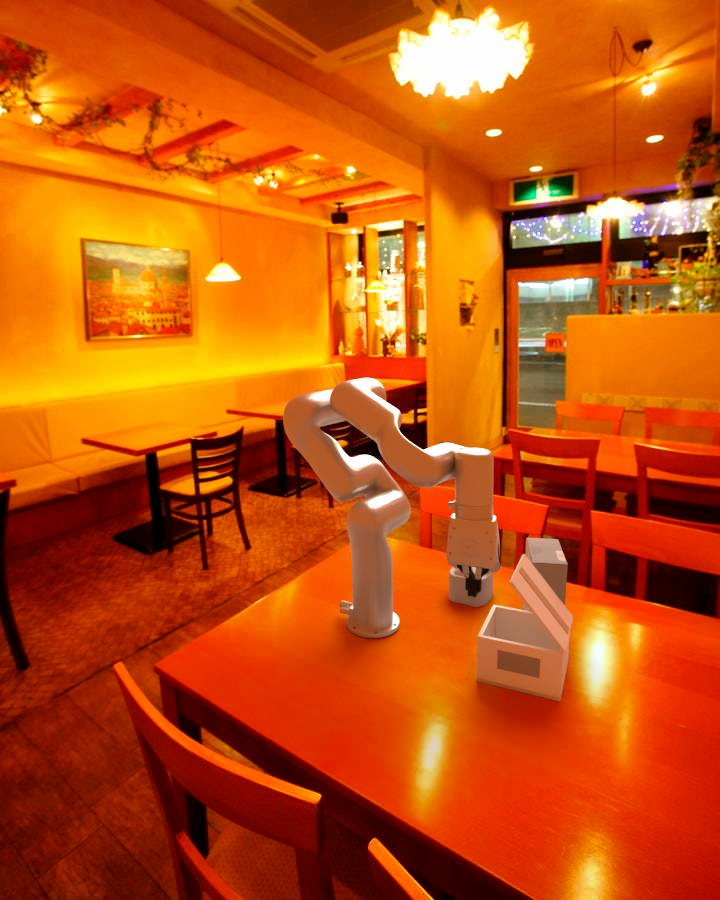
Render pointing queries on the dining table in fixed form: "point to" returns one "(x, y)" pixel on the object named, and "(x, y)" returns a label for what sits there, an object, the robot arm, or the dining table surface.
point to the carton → (520, 654)
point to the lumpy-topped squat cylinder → (461, 594)
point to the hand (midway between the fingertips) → (473, 593)
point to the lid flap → (542, 602)
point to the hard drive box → (548, 564)
